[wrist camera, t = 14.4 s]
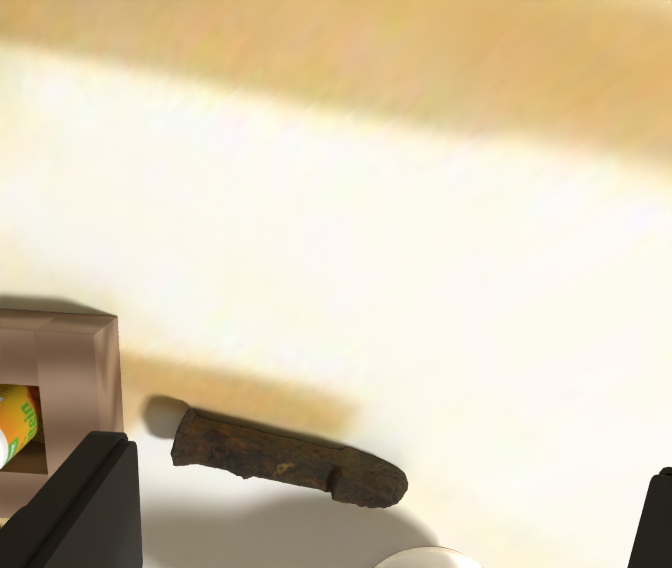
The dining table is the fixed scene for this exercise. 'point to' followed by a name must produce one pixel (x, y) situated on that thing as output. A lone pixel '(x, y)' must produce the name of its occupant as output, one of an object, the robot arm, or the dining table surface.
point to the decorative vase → (428, 559)
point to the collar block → (58, 390)
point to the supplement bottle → (18, 418)
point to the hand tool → (288, 461)
